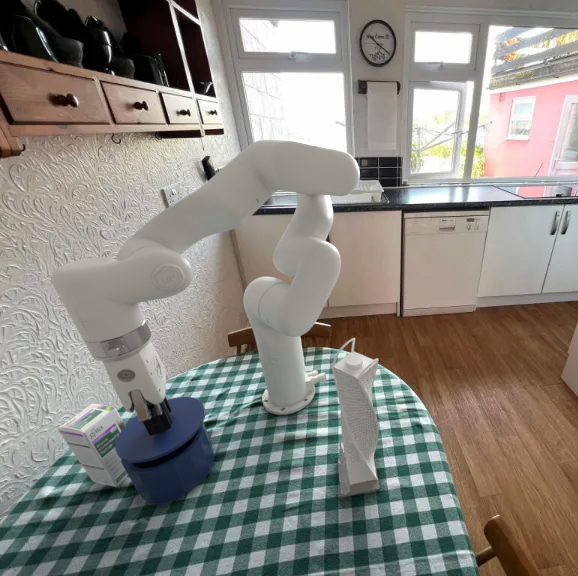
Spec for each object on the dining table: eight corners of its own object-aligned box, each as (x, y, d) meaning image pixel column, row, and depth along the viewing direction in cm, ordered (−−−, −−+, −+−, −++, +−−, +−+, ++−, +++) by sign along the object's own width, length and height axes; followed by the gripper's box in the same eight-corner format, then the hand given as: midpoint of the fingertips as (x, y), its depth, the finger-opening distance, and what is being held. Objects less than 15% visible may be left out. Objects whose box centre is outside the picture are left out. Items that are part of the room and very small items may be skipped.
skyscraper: (338, 455, 63) (324, 339, 51) (377, 448, 64) (373, 333, 52) (340, 497, 55) (326, 373, 43) (385, 488, 57) (383, 365, 45)
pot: (211, 432, 68) (201, 403, 65) (217, 480, 59) (205, 449, 55) (141, 460, 62) (126, 430, 59) (135, 518, 53) (116, 487, 49)
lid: (204, 391, 65) (193, 364, 62) (209, 439, 54) (197, 409, 51) (123, 420, 59) (107, 391, 55) (112, 481, 48) (91, 450, 45)
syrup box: (116, 488, 57) (83, 432, 51) (91, 482, 59) (55, 427, 52) (144, 460, 63) (116, 406, 56) (120, 455, 64) (90, 401, 57)
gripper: (145, 357, 43) (186, 447, 51) (152, 308, 56) (184, 386, 64) (74, 378, 40) (130, 471, 48) (99, 321, 52) (140, 402, 60)
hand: (161, 422), depth 56 cm, fingers closed on lid, 3 cm apart
